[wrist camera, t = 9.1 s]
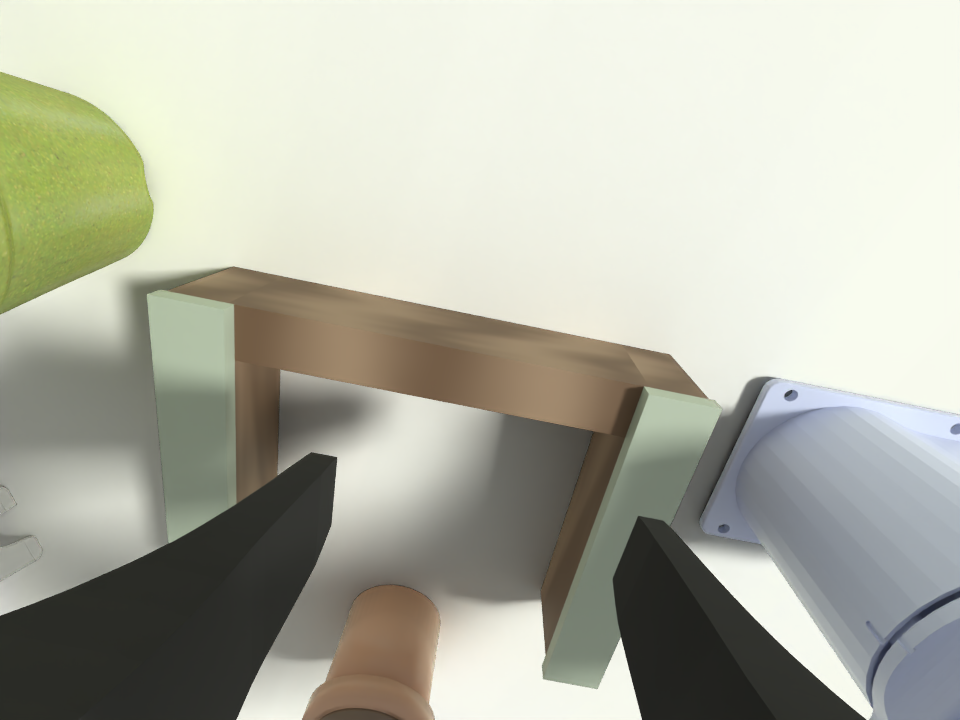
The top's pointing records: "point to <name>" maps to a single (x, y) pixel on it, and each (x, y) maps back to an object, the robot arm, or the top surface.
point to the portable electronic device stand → (16, 544)
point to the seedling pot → (382, 660)
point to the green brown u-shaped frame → (434, 375)
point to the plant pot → (63, 191)
